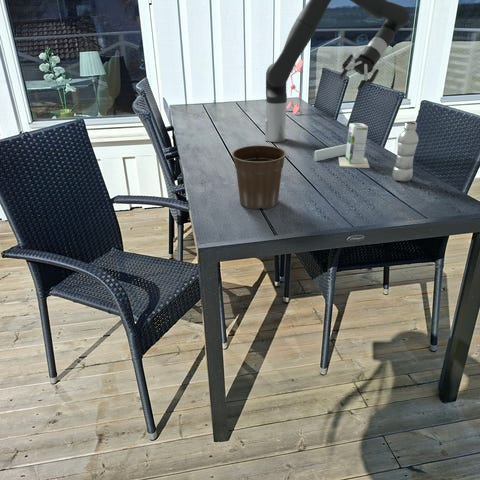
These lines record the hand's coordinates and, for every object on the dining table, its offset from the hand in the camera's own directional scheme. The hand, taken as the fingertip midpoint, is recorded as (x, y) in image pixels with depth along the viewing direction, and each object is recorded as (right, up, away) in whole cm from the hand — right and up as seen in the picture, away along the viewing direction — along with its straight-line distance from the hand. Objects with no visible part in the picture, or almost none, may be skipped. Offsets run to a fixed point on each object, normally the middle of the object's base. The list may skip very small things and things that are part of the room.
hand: (349, 83), depth 175 cm
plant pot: (-39, -53, -40) cm, 77 cm away
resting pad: (0, -34, -7) cm, 35 cm away
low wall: (-6, -29, +1) cm, 30 cm away
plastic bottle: (+12, -43, -25) cm, 51 cm away
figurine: (-17, +10, +76) cm, 79 cm away
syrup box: (0, -33, -7) cm, 34 cm away
